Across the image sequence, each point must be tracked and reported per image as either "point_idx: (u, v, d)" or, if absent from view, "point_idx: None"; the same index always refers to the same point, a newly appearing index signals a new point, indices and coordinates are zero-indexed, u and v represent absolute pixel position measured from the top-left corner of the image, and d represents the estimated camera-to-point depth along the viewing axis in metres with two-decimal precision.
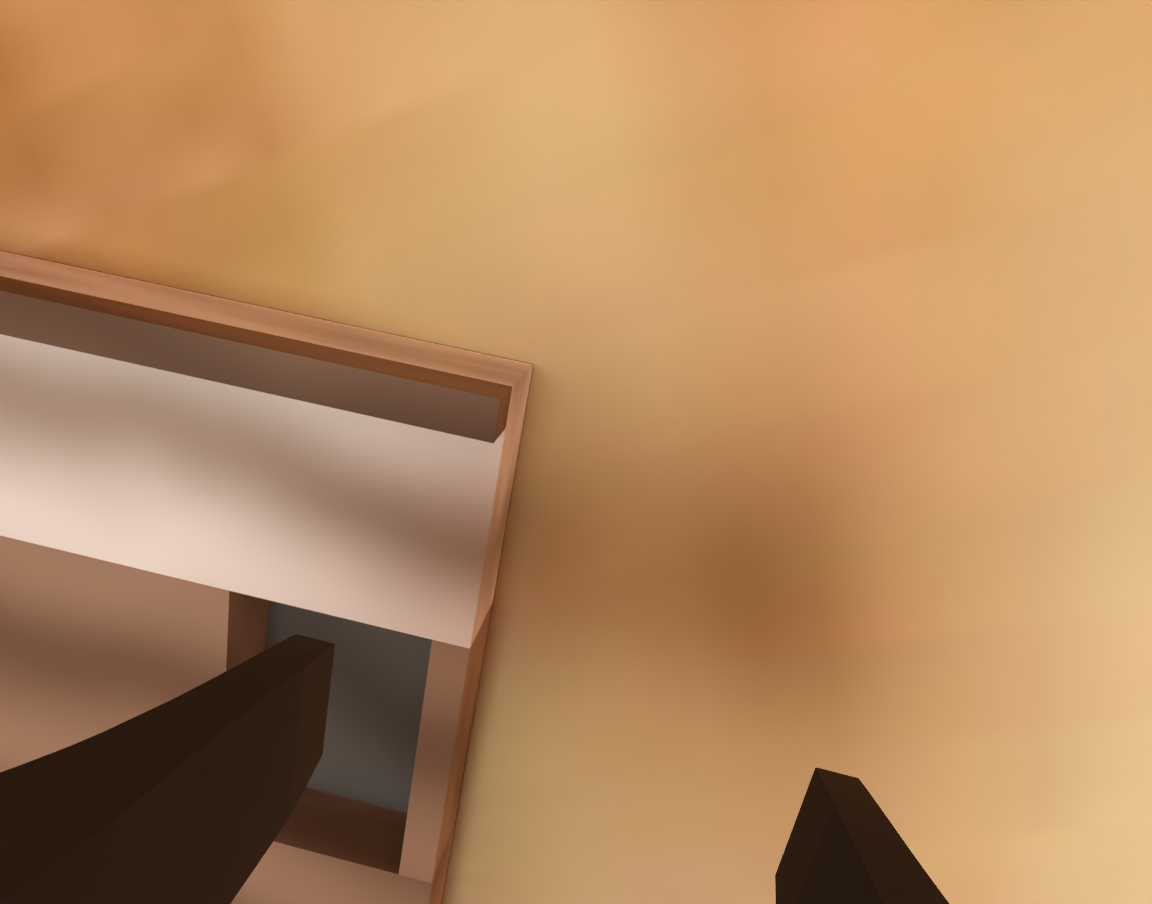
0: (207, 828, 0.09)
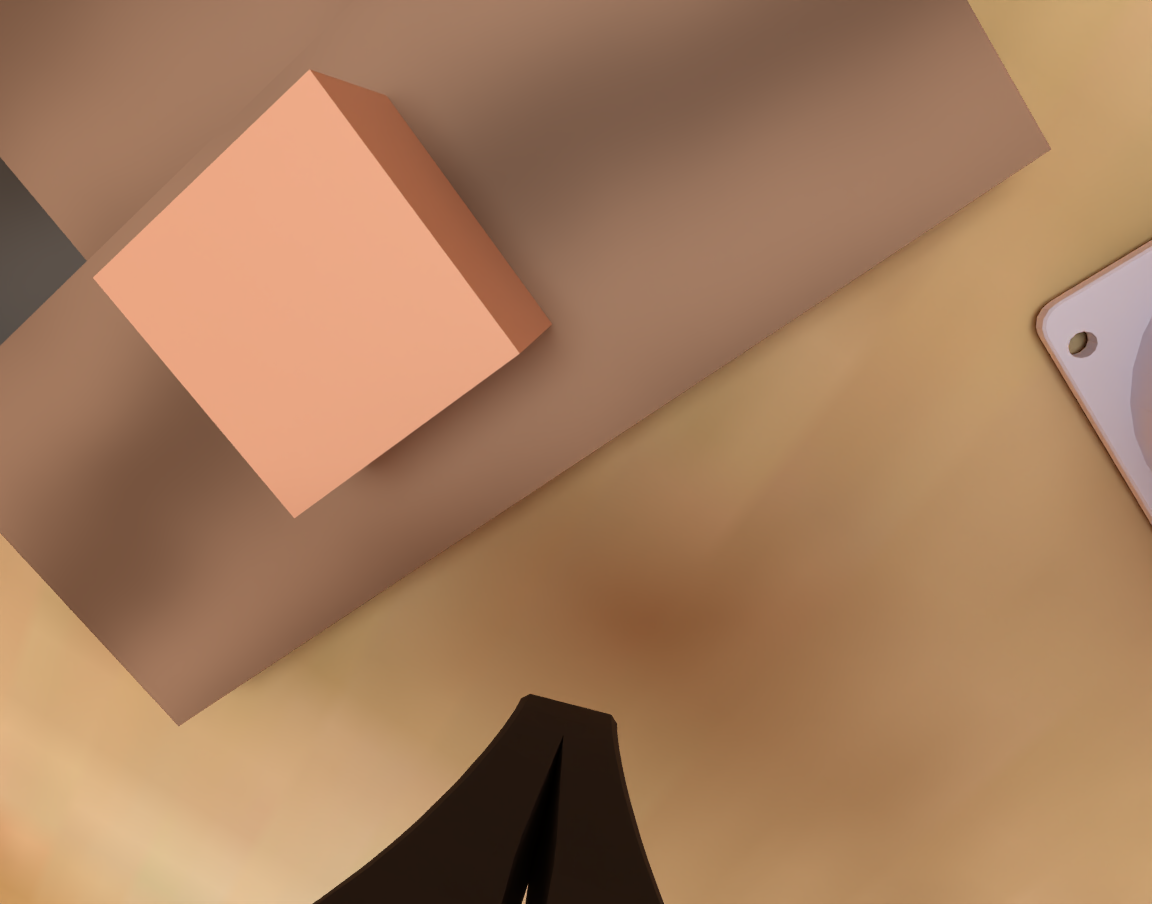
0: None
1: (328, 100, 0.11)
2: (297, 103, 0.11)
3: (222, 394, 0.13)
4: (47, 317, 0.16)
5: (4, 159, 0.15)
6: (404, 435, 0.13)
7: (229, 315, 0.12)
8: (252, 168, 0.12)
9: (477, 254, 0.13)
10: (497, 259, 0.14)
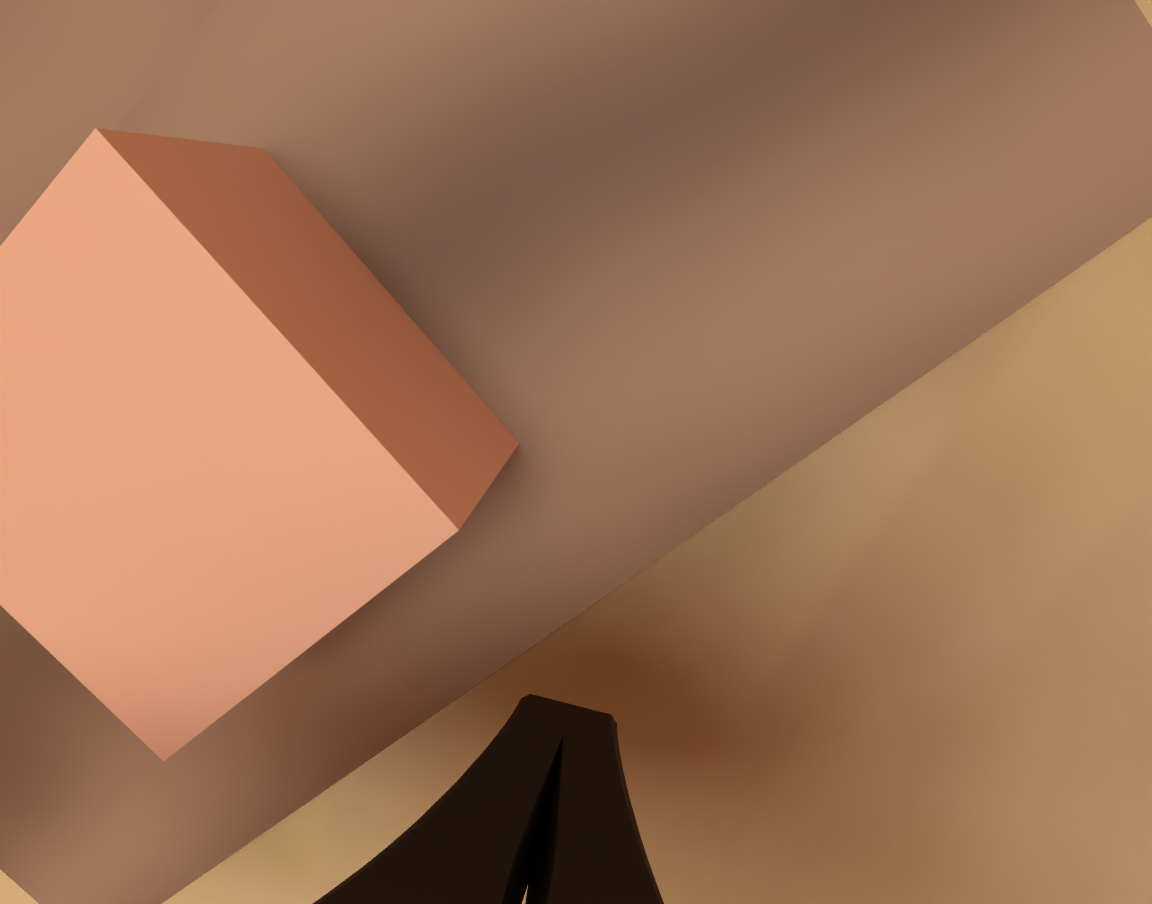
0: None
1: (129, 173, 0.07)
2: (85, 181, 0.07)
3: (39, 601, 0.09)
4: None
5: None
6: (303, 648, 0.09)
7: (33, 492, 0.08)
8: (33, 282, 0.08)
9: (397, 370, 0.09)
10: (433, 365, 0.10)
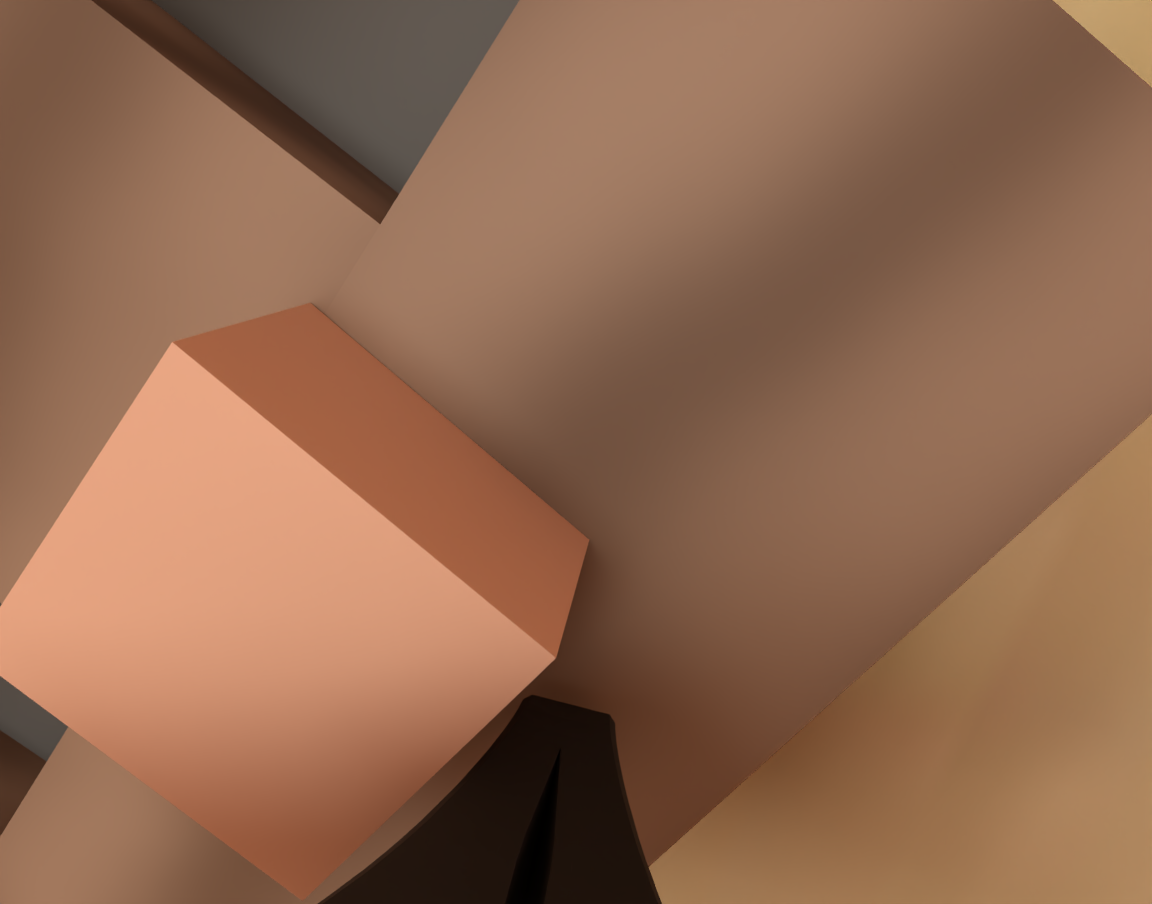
0: None
1: (207, 378, 0.08)
2: (168, 389, 0.08)
3: (170, 768, 0.09)
4: (76, 741, 0.14)
5: None
6: (421, 782, 0.09)
7: (152, 670, 0.09)
8: (132, 485, 0.08)
9: (469, 500, 0.09)
10: (499, 482, 0.10)
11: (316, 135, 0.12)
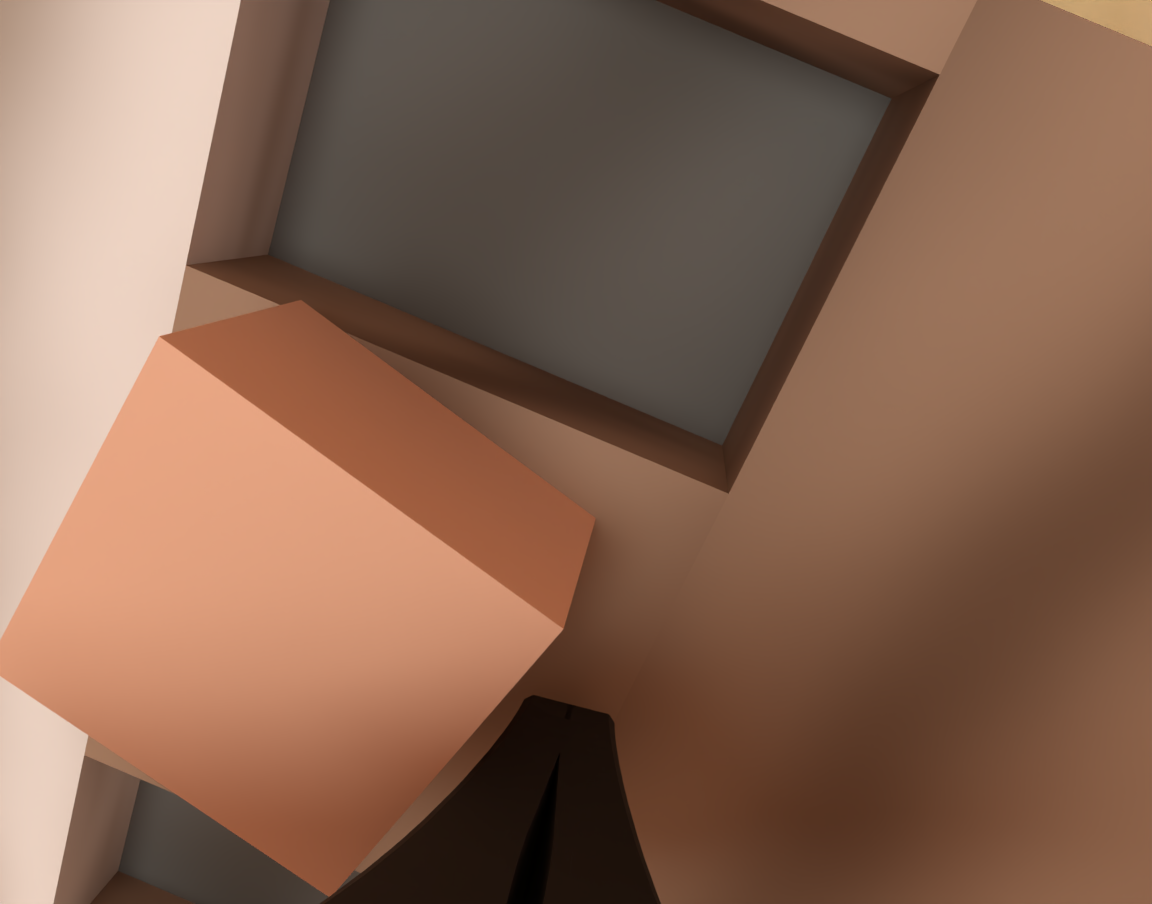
0: None
1: (196, 370, 0.08)
2: (158, 384, 0.08)
3: (189, 770, 0.09)
4: None
5: None
6: (439, 767, 0.09)
7: (165, 671, 0.09)
8: (132, 483, 0.08)
9: (469, 481, 0.09)
10: (500, 465, 0.10)
11: (604, 402, 0.12)
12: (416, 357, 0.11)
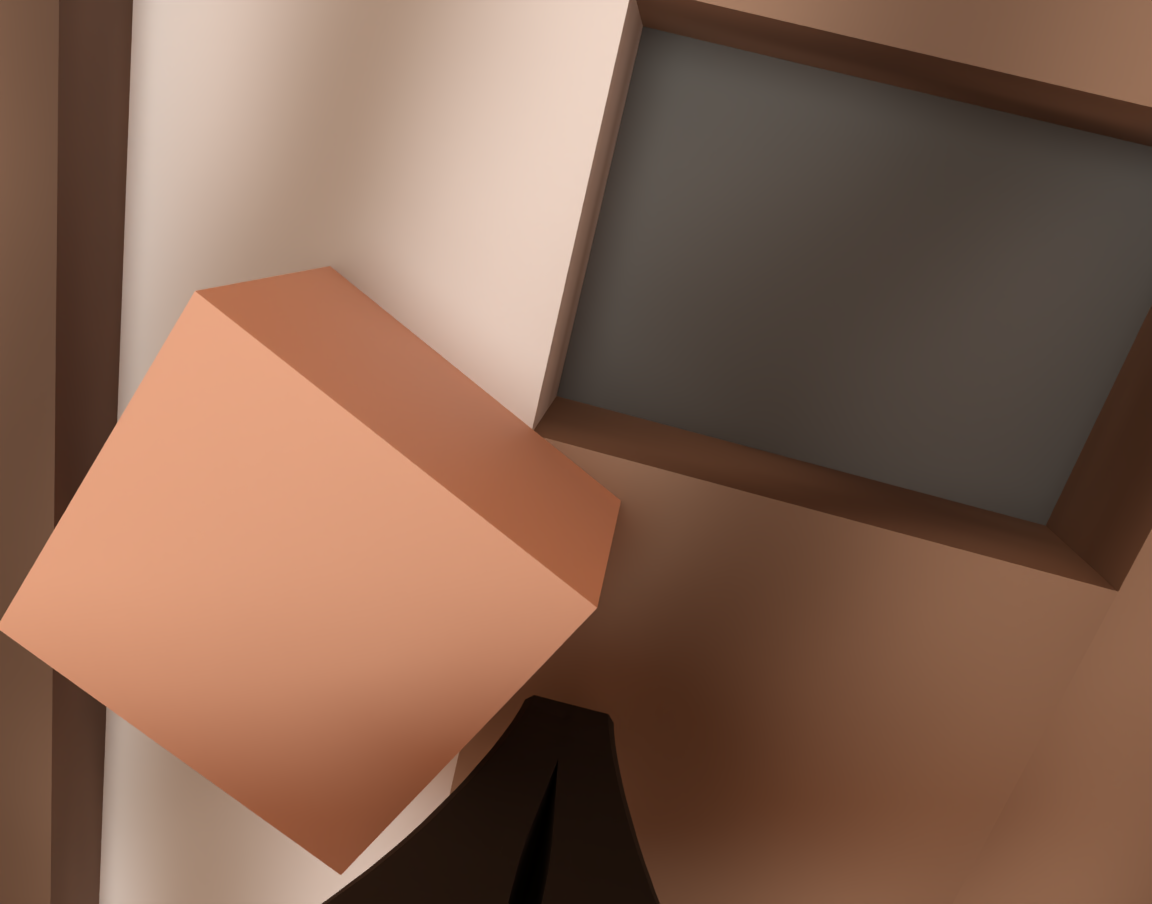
0: None
1: (232, 327, 0.08)
2: (191, 341, 0.08)
3: (202, 740, 0.09)
4: None
5: None
6: (460, 745, 0.09)
7: (181, 638, 0.09)
8: (157, 443, 0.08)
9: (499, 456, 0.09)
10: (527, 442, 0.10)
11: (924, 499, 0.12)
12: (769, 492, 0.11)
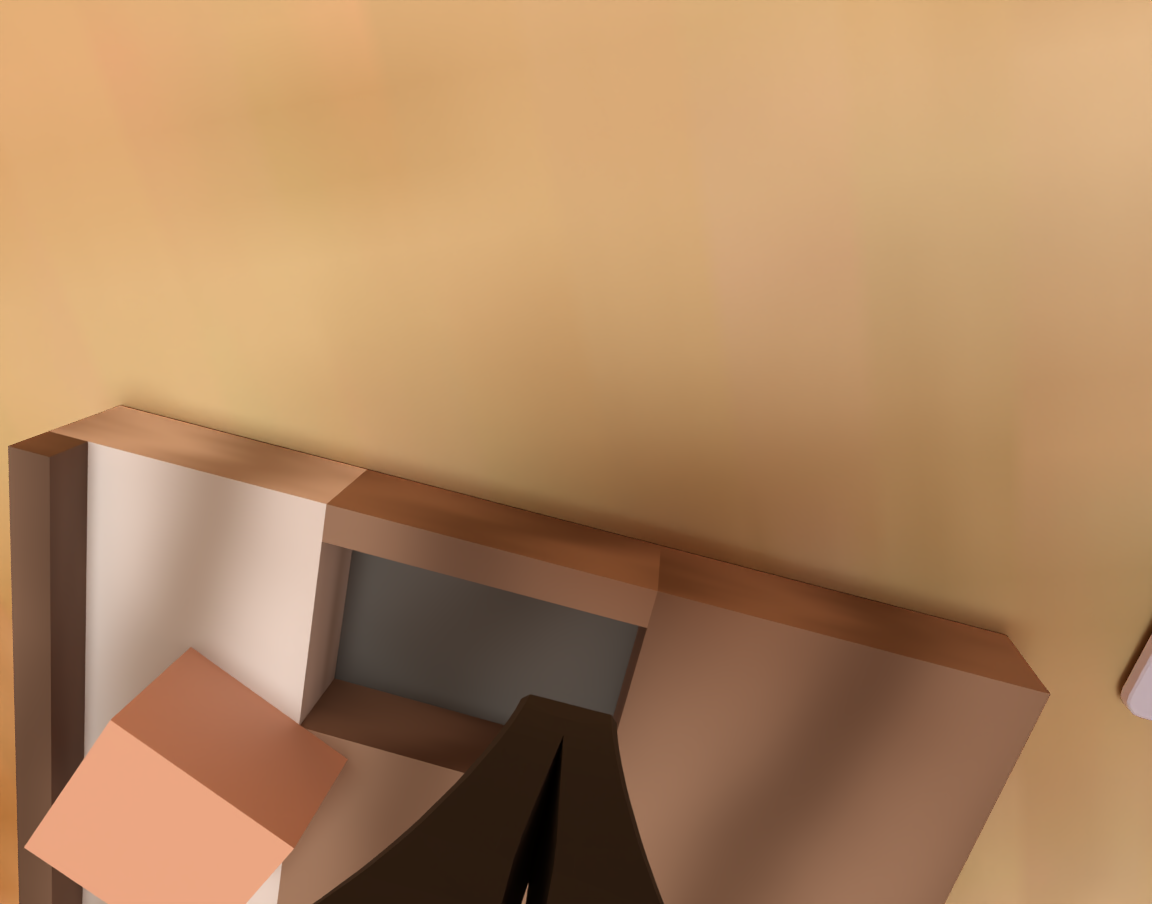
0: None
1: (126, 735, 0.17)
2: (110, 738, 0.17)
3: (124, 899, 0.19)
4: None
5: None
6: None
7: (112, 855, 0.19)
8: (97, 775, 0.18)
9: (266, 759, 0.19)
10: (291, 738, 0.20)
11: None
12: (423, 755, 0.20)
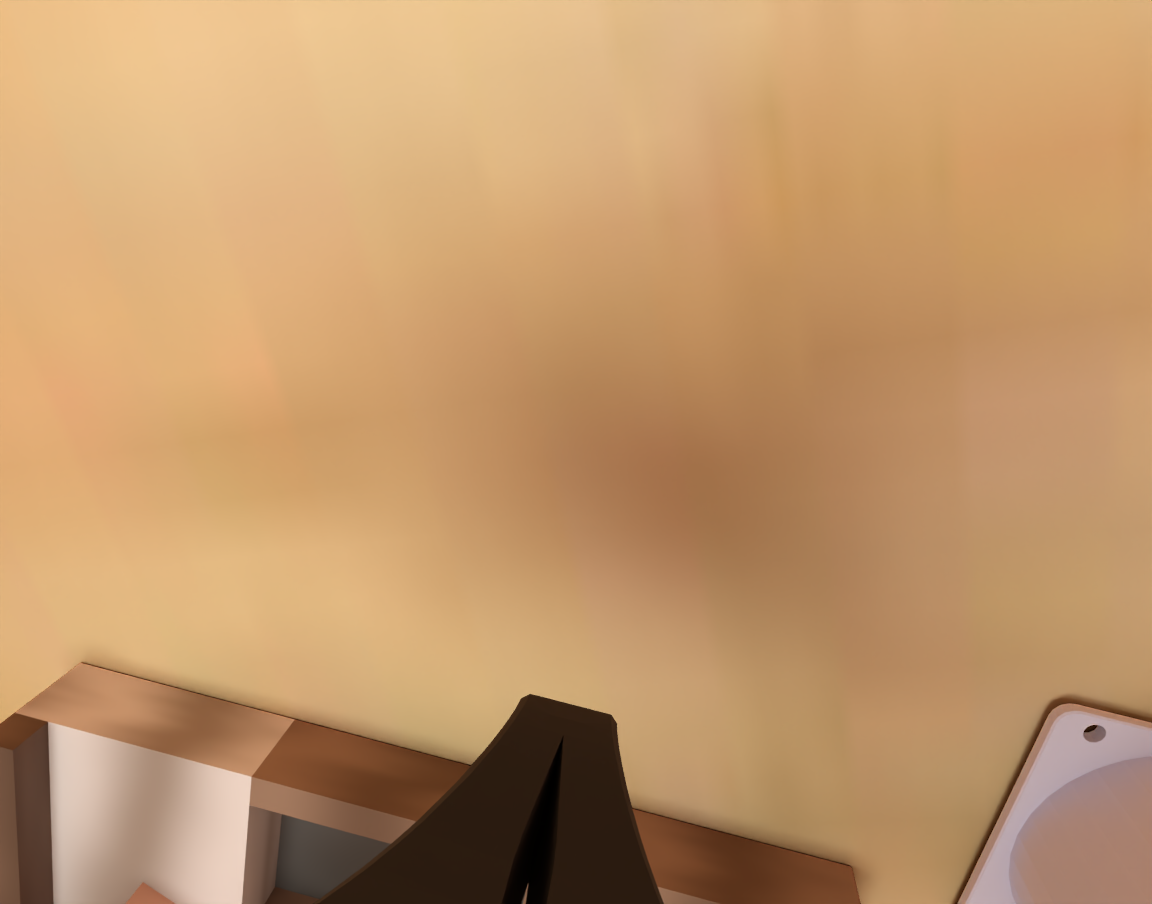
0: None
1: None
2: None
3: None
4: None
5: None
6: None
7: None
8: None
9: None
10: None
11: None
12: None
